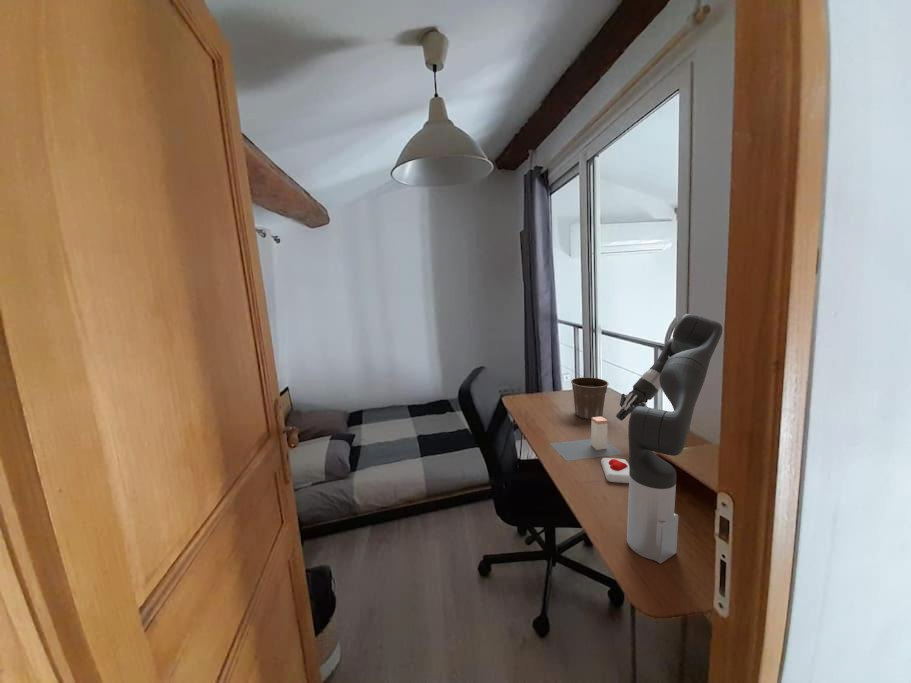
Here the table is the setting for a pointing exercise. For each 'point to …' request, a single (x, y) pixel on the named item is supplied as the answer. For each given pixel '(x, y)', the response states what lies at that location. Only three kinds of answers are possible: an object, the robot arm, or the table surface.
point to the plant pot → (589, 396)
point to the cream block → (599, 432)
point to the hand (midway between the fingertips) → (618, 418)
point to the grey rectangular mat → (583, 450)
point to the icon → (616, 470)
